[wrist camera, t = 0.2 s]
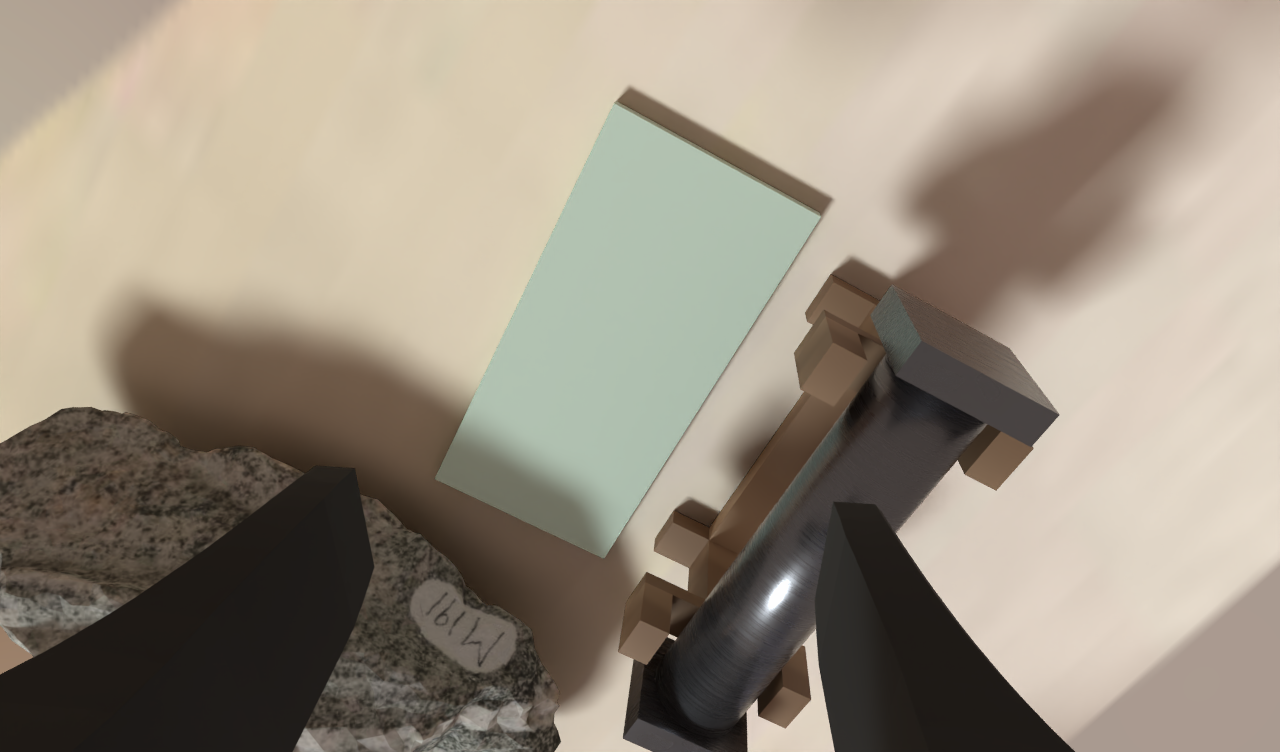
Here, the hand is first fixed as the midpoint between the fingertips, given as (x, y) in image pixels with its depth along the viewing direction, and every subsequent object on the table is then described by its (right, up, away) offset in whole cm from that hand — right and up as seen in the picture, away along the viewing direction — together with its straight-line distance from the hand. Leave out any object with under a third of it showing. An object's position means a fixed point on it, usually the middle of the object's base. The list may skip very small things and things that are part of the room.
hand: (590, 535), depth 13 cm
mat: (0, +3, +10) cm, 10 cm away
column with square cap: (+5, -1, +8) cm, 9 cm away
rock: (-10, -5, +15) cm, 18 cm away
